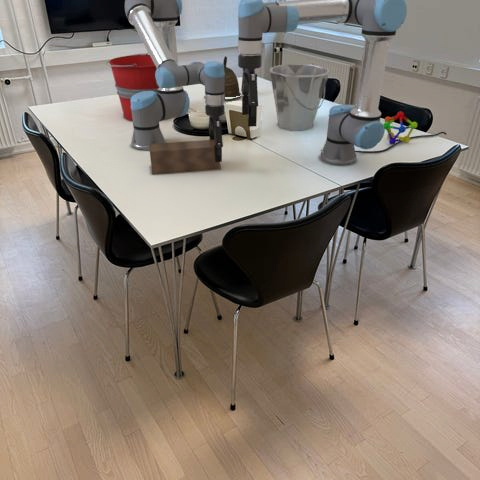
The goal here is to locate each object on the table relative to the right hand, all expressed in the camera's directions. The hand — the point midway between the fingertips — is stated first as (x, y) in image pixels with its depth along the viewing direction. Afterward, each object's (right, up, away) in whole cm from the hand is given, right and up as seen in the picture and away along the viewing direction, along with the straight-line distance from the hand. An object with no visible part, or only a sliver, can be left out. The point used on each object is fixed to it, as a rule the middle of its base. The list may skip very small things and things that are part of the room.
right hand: (248, 120), depth 152 cm
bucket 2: (+26, +19, +81) cm, 87 cm away
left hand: (-13, -6, +32) cm, 35 cm away
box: (-26, -11, +32) cm, 42 cm away
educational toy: (+71, +5, +58) cm, 92 cm away
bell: (-12, +49, +129) cm, 139 cm away
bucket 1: (-55, +28, +95) cm, 114 cm away
